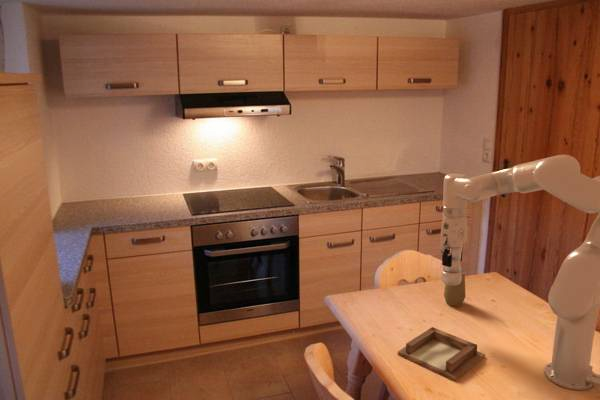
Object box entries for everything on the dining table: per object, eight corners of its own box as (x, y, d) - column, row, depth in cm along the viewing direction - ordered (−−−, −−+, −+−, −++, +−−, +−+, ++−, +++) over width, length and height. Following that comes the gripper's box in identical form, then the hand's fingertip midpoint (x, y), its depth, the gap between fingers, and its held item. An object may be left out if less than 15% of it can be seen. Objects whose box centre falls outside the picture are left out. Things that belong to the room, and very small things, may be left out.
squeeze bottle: (467, 302, 192) (470, 258, 187) (461, 310, 185) (465, 265, 181) (446, 297, 196) (449, 254, 191) (440, 305, 189) (443, 261, 185)
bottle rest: (484, 357, 154) (485, 345, 153) (455, 381, 142) (455, 368, 141) (428, 334, 168) (429, 323, 167) (397, 354, 156) (398, 342, 155)
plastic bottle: (462, 288, 164) (465, 230, 159) (441, 287, 165) (443, 229, 161) (460, 281, 170) (463, 225, 166) (440, 279, 171) (442, 224, 167)
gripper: (451, 218, 153) (448, 273, 157) (478, 208, 165) (475, 259, 169) (430, 214, 159) (428, 267, 163) (457, 205, 170) (455, 254, 174)
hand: (452, 262), depth 166 cm, fingers closed on plastic bottle, 6 cm apart
